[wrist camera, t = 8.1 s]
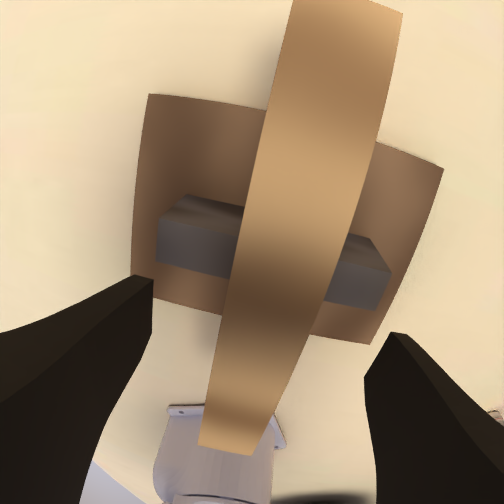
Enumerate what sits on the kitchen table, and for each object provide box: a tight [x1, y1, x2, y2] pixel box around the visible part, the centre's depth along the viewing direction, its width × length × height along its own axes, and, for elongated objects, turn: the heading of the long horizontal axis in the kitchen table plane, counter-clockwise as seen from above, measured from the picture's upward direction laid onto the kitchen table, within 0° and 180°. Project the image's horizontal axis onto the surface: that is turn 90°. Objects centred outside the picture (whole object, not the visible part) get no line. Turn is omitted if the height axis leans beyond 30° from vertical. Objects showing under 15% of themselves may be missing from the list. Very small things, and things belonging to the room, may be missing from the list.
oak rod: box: [197, 0, 403, 456], centre depth 11 cm, size 20×3×3 cm, turn 168°
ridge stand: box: [131, 94, 444, 345], centre depth 15 cm, size 16×12×5 cm
